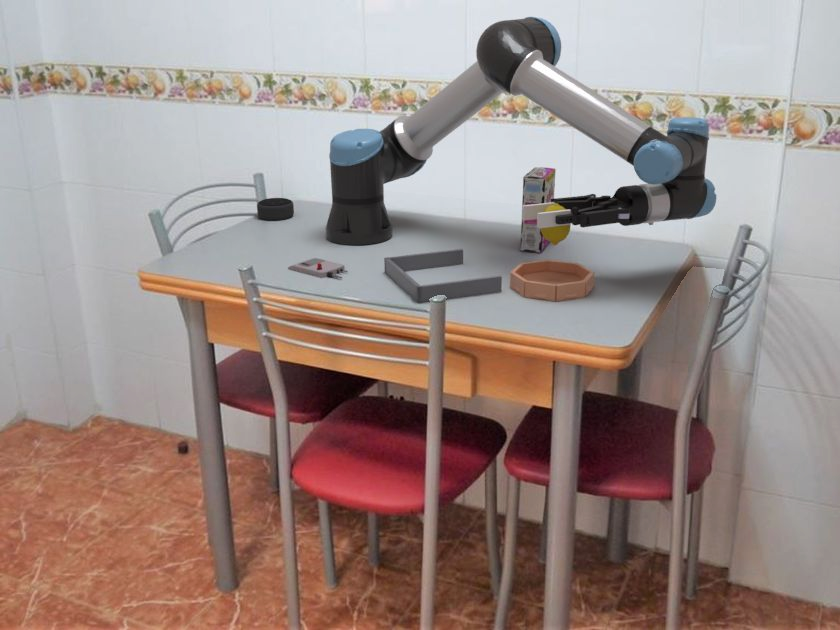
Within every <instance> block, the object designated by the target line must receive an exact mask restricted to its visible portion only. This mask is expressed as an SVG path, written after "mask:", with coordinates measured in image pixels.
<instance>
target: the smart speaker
mask: <svg viewBox="0 0 840 630" xmlns="http://www.w3.org/2000/svg"><path fill="white" fill-rule="evenodd" d="M294 207H295V206H294V202H293V200H291V199H289V198H287V197H286V198H284V197H269V198H264V199H262V200H260V201H258V202H257V204H256V211H257V216H258V218H259V219H262V220H265V221H283V219H284V220H287V219H290V218H292V217H293V216H294V214H295V211H294V210H295V208H294Z"/></svg>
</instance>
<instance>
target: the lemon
mask: <svg viewBox="0 0 840 630" xmlns="http://www.w3.org/2000/svg"><path fill="white" fill-rule="evenodd" d="M559 210H566V209H565V208H564V207H562V206H560V205H559V204H557V203H555V204H554V205H552V206H550V207H548V208H547V209H546V210H545V211H544V212H550V211H559ZM541 232H542V235H543V236H544V238H545V239H546V240H548V241H550V242H549V243H551V244H552V245H554V246H557V245H558V244H559V243H560V242H562V241H564V240H565V239H566V238H567V237H568V235H569V234H570V232H571V225H564V226H555V227H547V228H541Z"/></svg>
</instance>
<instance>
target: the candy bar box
mask: <svg viewBox="0 0 840 630" xmlns="http://www.w3.org/2000/svg"><path fill="white" fill-rule="evenodd" d="M556 170H557V169H556V168H553V167H541V166H540V167H539V166H538V167H536V166H534V167H533V169H531V170H529V172H527V173H526V174H525V175H523V178H522V179H523V180H522V182H523V183H522V184H523V185H522V204H521V207H522V206H523V205H532V204H541V203H550V202H551V199H553V198H555V185H556V183H555V181H556ZM520 227H521V229H520V246H519V247H520V248H519V251H520V252H523V253H524V252H527V253H536V254H541V253H543V251H544V250H545V248H547V246H548V245H549V243H551V242H550V241H548V240H546V239H545V238H544V236H543V235H542V232H541V228H537V219H533V220H522V219H521V226H520Z"/></svg>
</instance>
